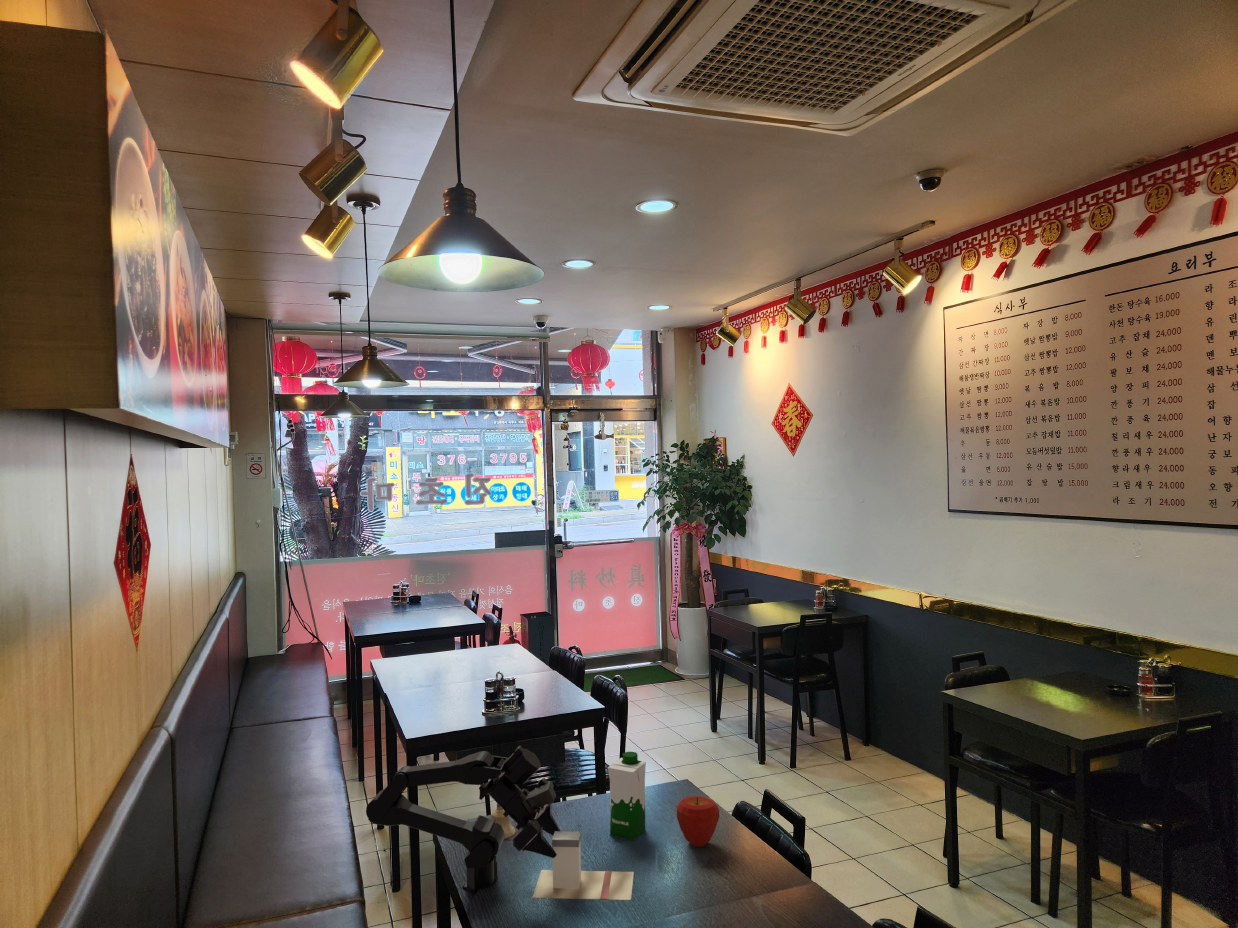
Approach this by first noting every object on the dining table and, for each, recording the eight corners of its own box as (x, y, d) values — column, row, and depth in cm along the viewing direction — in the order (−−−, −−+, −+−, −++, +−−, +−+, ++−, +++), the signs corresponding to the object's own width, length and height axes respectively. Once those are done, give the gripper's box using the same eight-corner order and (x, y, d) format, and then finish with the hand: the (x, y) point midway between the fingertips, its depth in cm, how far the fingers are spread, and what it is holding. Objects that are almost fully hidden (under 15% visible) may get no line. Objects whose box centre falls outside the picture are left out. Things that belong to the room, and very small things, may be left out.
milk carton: (649, 828, 207) (648, 753, 207) (634, 843, 199) (633, 765, 199) (620, 822, 211) (619, 748, 211) (604, 836, 203) (603, 759, 203)
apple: (727, 849, 195) (726, 801, 195) (689, 857, 191) (688, 808, 191) (706, 830, 205) (705, 785, 205) (670, 838, 201) (669, 791, 201)
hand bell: (518, 826, 209) (517, 766, 210) (511, 840, 201) (510, 778, 201) (488, 825, 210) (488, 766, 210) (480, 839, 202) (479, 778, 202)
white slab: (552, 888, 176) (552, 839, 176) (555, 878, 180) (554, 831, 180) (579, 888, 175) (578, 839, 175) (581, 879, 179) (580, 831, 179)
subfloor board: (532, 901, 172) (532, 896, 172) (541, 873, 184) (541, 869, 184) (630, 904, 170) (630, 899, 170) (633, 875, 182) (633, 871, 182)
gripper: (526, 789, 169) (577, 841, 168) (541, 758, 188) (587, 804, 187) (491, 825, 169) (542, 876, 168) (510, 790, 188) (555, 836, 187)
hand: (558, 846), depth 178 cm, fingers open, 9 cm apart
